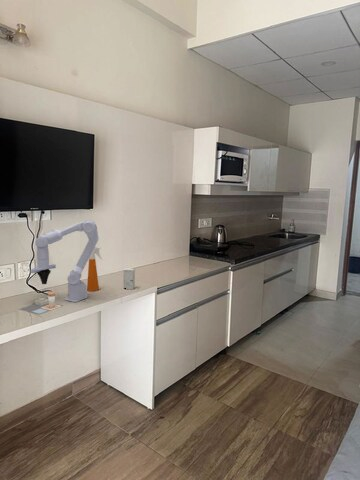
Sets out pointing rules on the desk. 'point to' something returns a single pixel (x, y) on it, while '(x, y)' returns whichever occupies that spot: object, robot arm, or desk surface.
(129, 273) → the skincare box
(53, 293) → the cylinder
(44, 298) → the button
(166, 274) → the desk surface
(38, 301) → the button housing
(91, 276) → the spray bottle
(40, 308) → the picture sheet
